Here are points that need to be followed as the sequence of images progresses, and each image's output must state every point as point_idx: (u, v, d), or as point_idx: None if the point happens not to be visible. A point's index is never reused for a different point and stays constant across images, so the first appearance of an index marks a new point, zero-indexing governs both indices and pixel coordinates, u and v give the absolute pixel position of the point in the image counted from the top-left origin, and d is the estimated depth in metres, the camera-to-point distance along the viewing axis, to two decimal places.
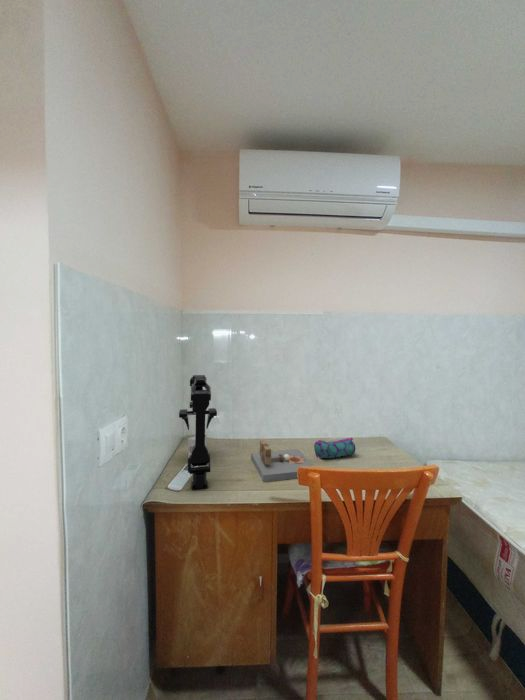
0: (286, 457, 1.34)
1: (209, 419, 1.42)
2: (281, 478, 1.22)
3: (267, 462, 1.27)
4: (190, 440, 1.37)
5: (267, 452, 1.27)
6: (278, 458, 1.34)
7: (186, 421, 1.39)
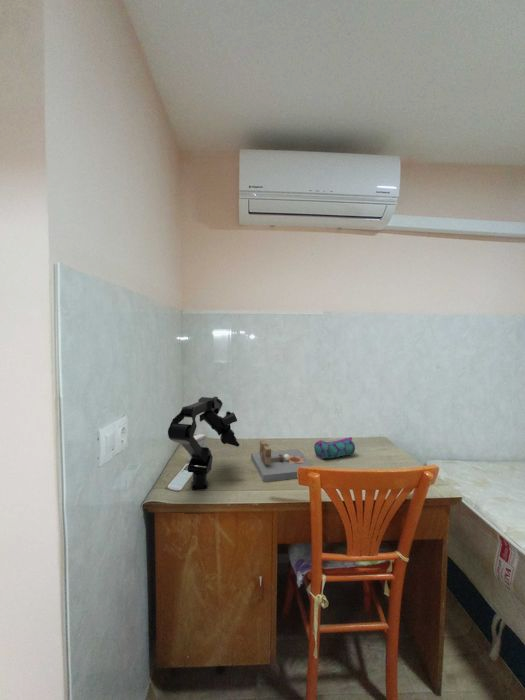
0: (286, 457, 1.34)
1: None
2: (281, 478, 1.22)
3: (267, 462, 1.27)
4: None
5: (267, 452, 1.27)
6: (278, 458, 1.34)
7: None
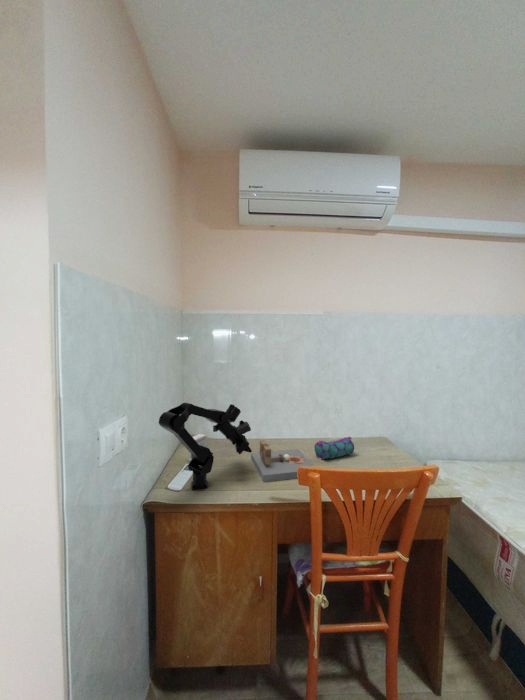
0: (286, 457, 1.34)
1: None
2: (281, 478, 1.22)
3: (267, 462, 1.27)
4: None
5: (267, 452, 1.27)
6: (278, 458, 1.34)
7: None
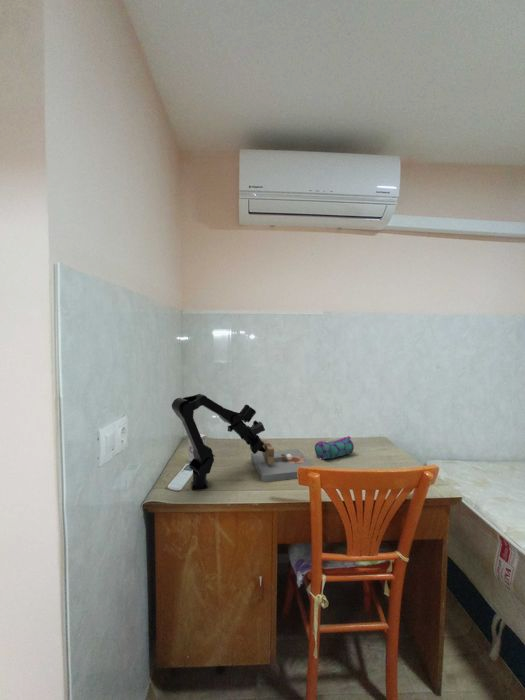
0: (289, 456, 1.35)
1: None
2: (281, 478, 1.22)
3: (270, 462, 1.28)
4: None
5: (270, 452, 1.27)
6: (281, 458, 1.34)
7: None
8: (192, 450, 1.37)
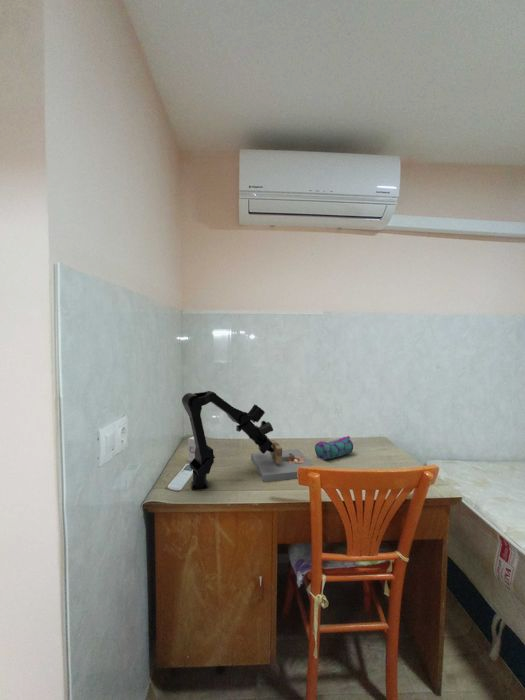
0: None
1: None
2: (281, 478, 1.22)
3: (278, 461, 1.29)
4: (190, 440, 1.37)
5: (278, 451, 1.28)
6: (289, 457, 1.35)
7: None
8: (192, 450, 1.37)
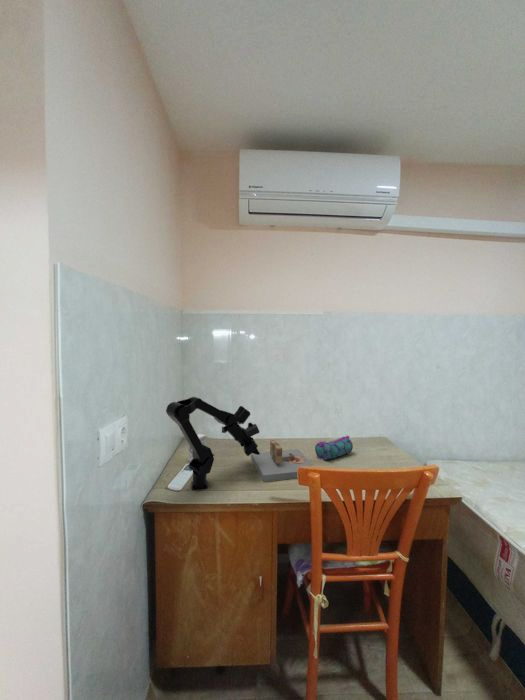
0: None
1: None
2: (281, 478, 1.22)
3: (278, 461, 1.29)
4: None
5: (278, 451, 1.28)
6: (289, 457, 1.35)
7: None
8: None
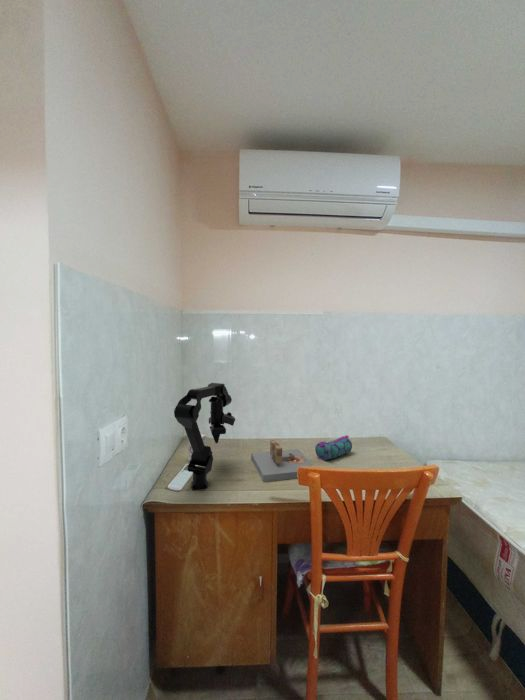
0: None
1: None
2: (281, 478, 1.22)
3: (278, 461, 1.29)
4: None
5: (278, 451, 1.28)
6: (289, 457, 1.35)
7: None
8: (192, 450, 1.37)
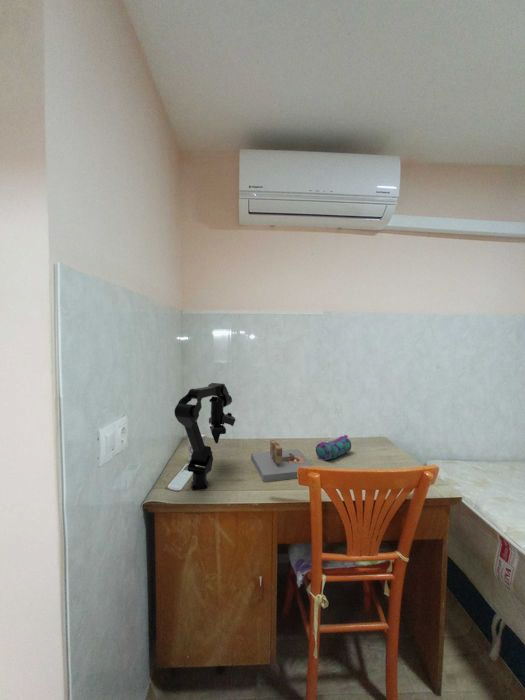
0: None
1: None
2: (281, 478, 1.22)
3: (278, 461, 1.29)
4: None
5: (278, 451, 1.28)
6: (289, 457, 1.35)
7: None
8: (192, 450, 1.37)
